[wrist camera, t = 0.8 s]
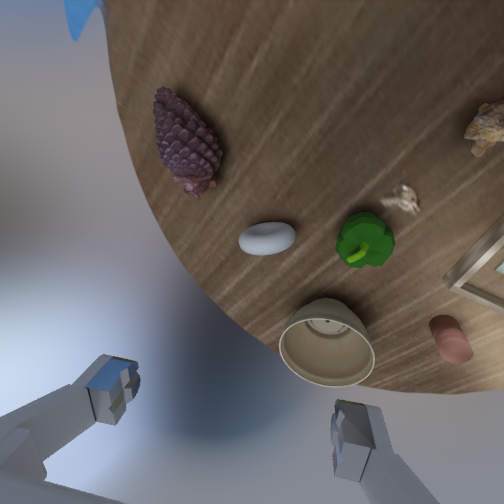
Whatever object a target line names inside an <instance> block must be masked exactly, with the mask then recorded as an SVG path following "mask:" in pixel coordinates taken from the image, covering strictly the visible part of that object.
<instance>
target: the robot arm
mask: <svg viewBox="0 0 504 504" xmlns="http://www.w3.org/2000/svg"><path fill="white" fill-rule="evenodd" d="M138 368H139V366H138V362H136V361H133V360H128V359H124V358H119V357H115V356H110V355H105V354H103V355H101V356H99V357H98V358H97V359H96V360H95V361H94V363H92V364H91V366H89V367H88V368H87V370H86V371H85V372H84V373H83V374H82V375H81V376H80V377H79V378H78V379H77V380H76V381H75V382H74V383H73V384H72V385H70V384H68V385H66V386H64V387H62V388H60V389H58V390H56V391H54V392H51V393H49V394H47V395H45V396H43V397H41V398H39V399H37V400H35V401H33V402H31V403H29V404H27V405H25V406H22V407H21V408H18V409H16V410H14V411H12V412H10V413H8V414H6V415H4V416H2V417H0V504H127V503H123V502H120V501H116V500H112V499H109V498H105V497H101V496H97V495H94V494H91V493H87V492H83V491H80V490H76V489H72V488H69V487H65V486H62V485H58V484H54V483H50V482H47V481H44V480H45V478H46V476H47V471H46V469H45V466H44V464H43V461H44V460H45V459H47V458H48V457H50V456H51V455H52V454H54V453H55V452H56V451H58V450H59V449H60V448H62V447H63V446H65V445H66V444H67V443H69V442H70V441H72V440H73V439H74V438H76V437H77V436H78V435H80V434H81V433H83V432H84V431H85V430H87V429H88V428H89V427H91V426H92V425H93V424H95V422H101V423H106V424H111V425H116V424H117V423H118V421H119V420H120V418H121V417H122V415H123V414H124V412H125V411H126V404H127V403H129V402H130V401H132V400H133V399H134V397H135V396H136V394H137V392H138V389H139V387H140V375H139V374H138V373H137V372H136V371H137V370H138ZM330 430H331V431H330V432H331V443H332V444H333V446H334V451H333V455H332V457H333V467H334V476H336V477H340V478H343V479H347V480H351V481H355V482H359V483H360V486H361V488H362V489H363V491H364V493H365V495H366V496H367V498H368V500H369V502H370V503H371V504H440V503H439V502H438V501H437V500H436V499H435V497H434V496H433V495H432V494H431V493H430V492H429V490H428V489H427V488H426V487H425V486H424V484H423V483H422V482H421V481H420V480H419V478H418V477H417V476H416V475H415V474H414V473H413V471H412V470H411V469H410V468H409V467H408V465H407V464H406V463H405V462H404V461H403V460H402V458H401V457H400V456H399V455H398V454H394V452H393V449H392V446H391V442H390V439H389V436H388V432H387V428H386V425H385V422H384V418H383V415H382V411H381V409H380V408H379V407H376V406H371V405H366V404H362V403H356V402H350V401H345V400H339V399H337V400H336V402H335V413H334V414H332V419H331V428H330Z"/></svg>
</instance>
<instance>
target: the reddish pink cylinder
mask: <svg viewBox="0 0 504 504" xmlns="http://www.w3.org/2000/svg"><path fill="white" fill-rule="evenodd" d="M429 327H430V329H431V332H432V334H433V337H434V339H435V341H436V344H437V346H438V349H439V351H440V354H441V356H442V358H443V359H445V360H446V361H448V362H451V363H463V362H466V361H468V360H470V359H471V358H472V356H473V350H472V348H471V346H470V345H469V343H468V341H467V339H466V337H465V336H464V334H463V332H462V330H461V328H460V326H459V325H458V323H457V321H456V320H455V319H454V318H453V317H451V316H448V315H439V316H436V317H434V318H432V319H431V321H430V323H429Z"/></svg>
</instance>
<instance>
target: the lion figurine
mask: <svg viewBox="0 0 504 504" xmlns="http://www.w3.org/2000/svg"><path fill="white" fill-rule="evenodd" d="M478 111H479V112H478V114H477V115H476V116H475V118H474V119H473V121H472V122H471V123H470V125H468V128H467V129H466V133H465V134H464V138H466V139H469V140H472V146H471V152H472V153H473V154H474V155H475V156H477V157H480V156H482V154H483V153H484V152H485V151H486V149H487V148H489V147H493V146H494V145H495V144H496V143H497V142H503V141H504V100H503V101H499V102H497V103H493V104H487V103H485V104H483V105H481V106H480V107H479V109H478Z"/></svg>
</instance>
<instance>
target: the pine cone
mask: <svg viewBox="0 0 504 504" xmlns="http://www.w3.org/2000/svg"><path fill="white" fill-rule="evenodd" d="M157 93H158V94H156V95H155V98H156V100H157V102H156V101H155V102H154V105H153V106H154V112H153V113H154V114H155V117H156V119H155V123H156V131H157V133H156V138H157V145H158V150H159V152H160V157H161V159H163V162H164V164H165V165H166V166H167V167H168V168H169V169H170V171H172V172H173V175H174V180H175V182H177V183H178V184H179V183H183V184H184V185H185V186H186V187H185V189H184V192H185V193H186V194H191V195H194V196H195V197H196V198H197V199H198V200H199V199H201V198H200V196H199V195H200V194H204V191H206V189H208V188H216V187H217V183H216V181H215V180H214V179H212V177H213V175H214V174H215V172H217V171H218V168H219V167H220V165H221V164H220V161H221V156H222V155H223V152H222V150H221V149H220V148H219V146H218V144H217V141H218V139H217V138H216V137H215V136H213V130H212V129H210V128H206V124H205V123H204V122H203V121H201V120H200V117H199V115H198V114H197V113H196V112H195V111H194V110H192V109H191V107H190V106H189V105H188V103H187V102H185V101H182V99H181V98H178V96H177V94H176V93H174V92H171V91H170V89H169V88H165V87H164V86H162V87H161V88H160V89H158V90H157Z"/></svg>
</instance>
